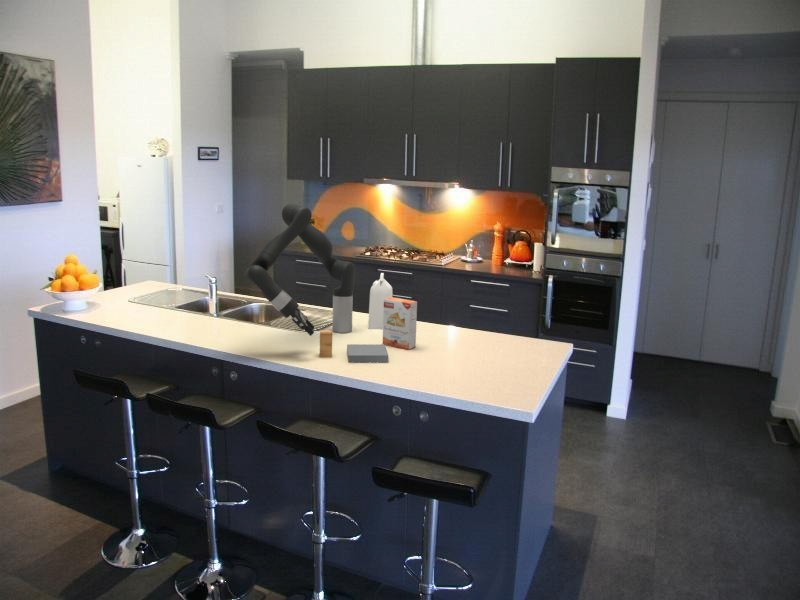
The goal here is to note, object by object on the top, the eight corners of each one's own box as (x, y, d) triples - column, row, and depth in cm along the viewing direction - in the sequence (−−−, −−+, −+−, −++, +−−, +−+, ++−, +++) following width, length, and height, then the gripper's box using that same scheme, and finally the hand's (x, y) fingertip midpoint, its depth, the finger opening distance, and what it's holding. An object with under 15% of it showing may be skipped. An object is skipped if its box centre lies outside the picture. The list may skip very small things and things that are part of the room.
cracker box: (381, 344, 296) (383, 298, 292) (389, 341, 301) (390, 296, 297) (408, 350, 289) (410, 303, 285) (415, 347, 294) (417, 300, 290)
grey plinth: (347, 351, 285) (347, 344, 284) (384, 351, 286) (384, 344, 286) (348, 362, 269) (348, 355, 268) (388, 362, 271) (388, 355, 270)
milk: (392, 329, 323) (393, 276, 317) (368, 329, 323) (369, 275, 317) (392, 323, 334) (394, 272, 329) (369, 322, 334) (370, 271, 329)
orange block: (319, 353, 280) (319, 330, 278) (331, 353, 280) (332, 330, 278) (319, 357, 275) (319, 333, 273) (331, 357, 276) (332, 333, 274)
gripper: (290, 301, 264) (319, 329, 268) (291, 293, 278) (319, 320, 282) (276, 314, 265) (305, 342, 268) (278, 306, 279) (306, 333, 282)
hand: (312, 331), depth 275 cm, fingers open, 8 cm apart
